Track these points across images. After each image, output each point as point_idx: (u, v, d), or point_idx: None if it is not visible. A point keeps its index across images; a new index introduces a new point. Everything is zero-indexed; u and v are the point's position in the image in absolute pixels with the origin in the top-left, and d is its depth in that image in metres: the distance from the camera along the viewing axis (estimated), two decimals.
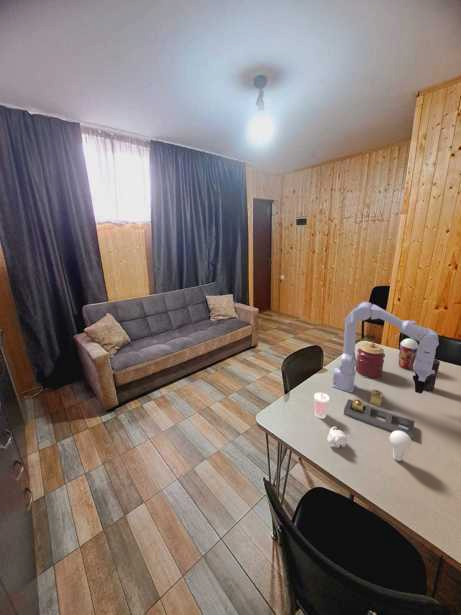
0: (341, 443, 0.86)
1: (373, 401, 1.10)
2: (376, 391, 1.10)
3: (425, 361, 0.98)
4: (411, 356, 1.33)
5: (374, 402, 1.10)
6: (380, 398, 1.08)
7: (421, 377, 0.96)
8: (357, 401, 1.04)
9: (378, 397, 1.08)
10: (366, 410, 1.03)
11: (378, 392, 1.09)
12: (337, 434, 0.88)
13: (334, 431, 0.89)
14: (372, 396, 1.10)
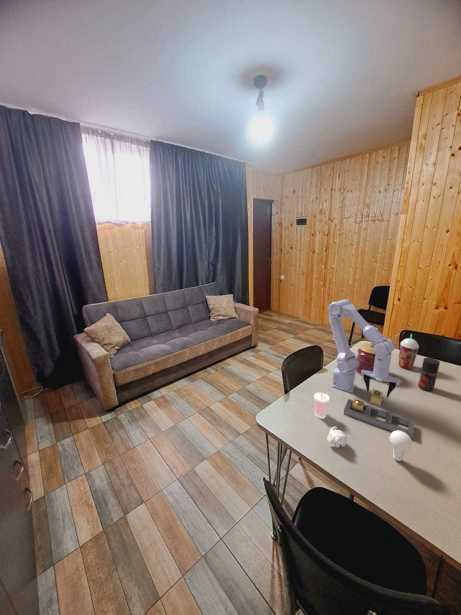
0: (341, 443, 0.86)
1: (373, 401, 1.10)
2: (376, 391, 1.10)
3: (378, 367, 1.04)
4: (411, 356, 1.33)
5: (374, 402, 1.10)
6: (380, 398, 1.08)
7: (361, 371, 1.12)
8: (357, 401, 1.04)
9: (378, 397, 1.08)
10: (366, 410, 1.03)
11: (378, 392, 1.09)
12: (337, 434, 0.88)
13: (334, 431, 0.89)
14: (372, 396, 1.10)
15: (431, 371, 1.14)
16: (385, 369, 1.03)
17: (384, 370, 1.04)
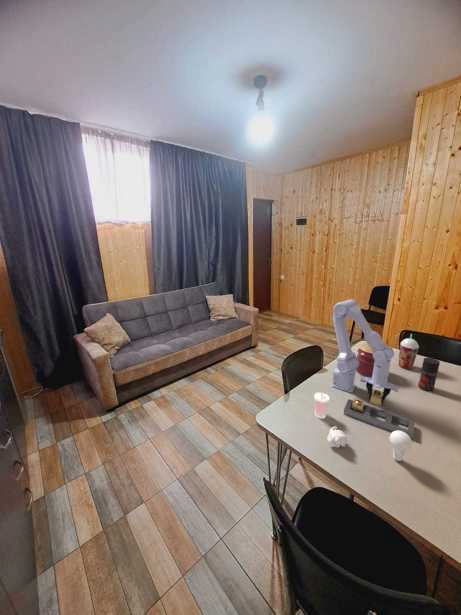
0: (341, 443, 0.86)
1: (373, 401, 1.10)
2: (376, 391, 1.10)
3: (377, 374, 1.05)
4: (411, 356, 1.33)
5: (374, 402, 1.10)
6: (380, 398, 1.08)
7: (361, 377, 1.13)
8: (357, 401, 1.04)
9: (378, 397, 1.08)
10: (366, 410, 1.03)
11: (378, 392, 1.09)
12: (337, 434, 0.88)
13: (334, 431, 0.89)
14: (372, 396, 1.10)
15: (431, 371, 1.14)
16: (384, 376, 1.04)
17: (383, 377, 1.05)
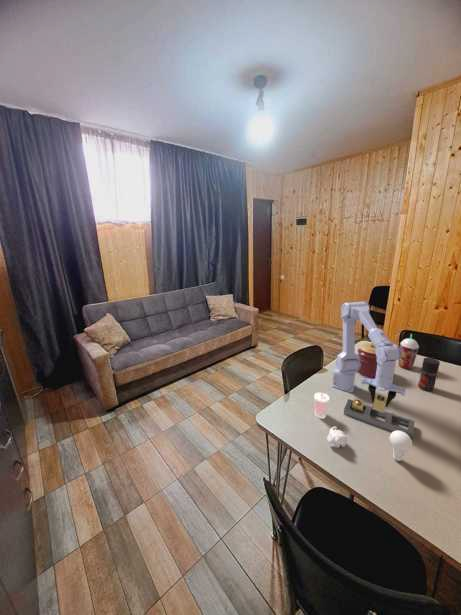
0: (341, 443, 0.86)
1: (376, 407, 0.98)
2: (379, 396, 0.99)
3: (378, 374, 0.94)
4: (411, 356, 1.33)
5: (377, 408, 0.98)
6: (384, 404, 0.96)
7: None
8: (357, 401, 1.04)
9: (382, 403, 0.97)
10: (366, 410, 1.03)
11: (382, 397, 0.98)
12: (337, 434, 0.88)
13: (334, 431, 0.89)
14: (375, 401, 0.98)
15: (431, 371, 1.14)
16: (389, 377, 0.92)
17: (387, 378, 0.92)
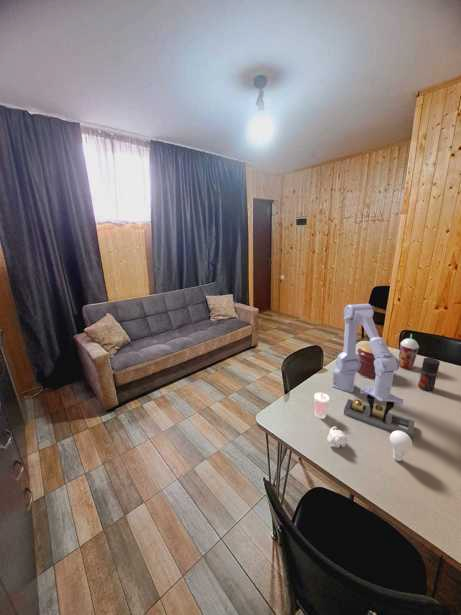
0: (341, 443, 0.86)
1: (374, 417, 1.00)
2: (378, 406, 1.00)
3: (376, 384, 0.96)
4: (411, 356, 1.33)
5: (376, 418, 1.00)
6: (382, 414, 0.98)
7: (361, 388, 1.02)
8: (357, 401, 1.04)
9: (380, 412, 0.98)
10: (366, 410, 1.03)
11: (380, 407, 0.99)
12: (337, 434, 0.88)
13: (334, 431, 0.89)
14: (373, 411, 1.00)
15: (431, 371, 1.14)
16: (387, 388, 0.94)
17: (386, 389, 0.94)
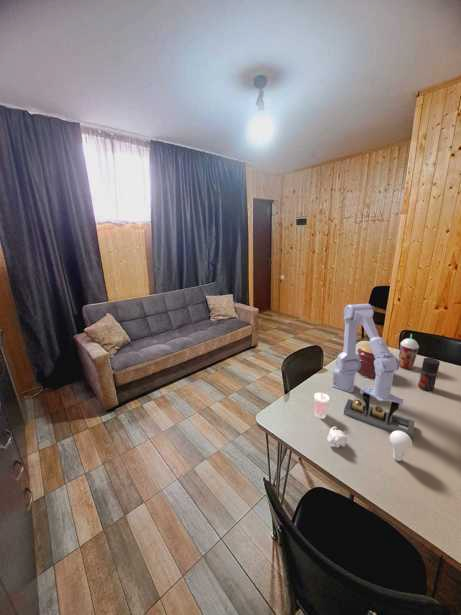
0: (341, 443, 0.86)
1: None
2: (377, 407, 1.00)
3: (376, 384, 0.96)
4: (411, 356, 1.33)
5: None
6: (382, 415, 0.98)
7: (361, 388, 1.02)
8: (357, 401, 1.04)
9: (380, 414, 0.98)
10: None
11: (380, 408, 0.99)
12: (337, 434, 0.88)
13: (334, 431, 0.89)
14: (373, 413, 1.00)
15: (431, 371, 1.14)
16: (387, 388, 0.94)
17: (386, 389, 0.94)
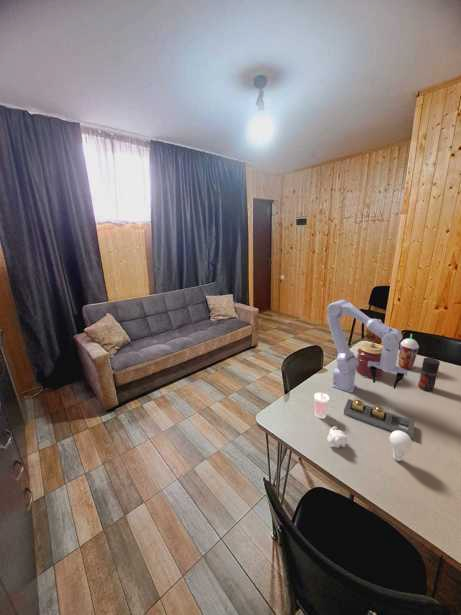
0: (341, 443, 0.86)
1: None
2: (377, 407, 1.00)
3: (386, 358, 1.02)
4: (411, 356, 1.33)
5: None
6: (382, 415, 0.98)
7: (368, 362, 1.10)
8: (357, 401, 1.04)
9: (380, 414, 0.98)
10: (366, 410, 1.03)
11: (380, 408, 0.99)
12: (337, 434, 0.88)
13: (334, 431, 0.89)
14: (373, 413, 1.00)
15: (431, 371, 1.14)
16: (392, 359, 1.02)
17: (391, 361, 1.02)
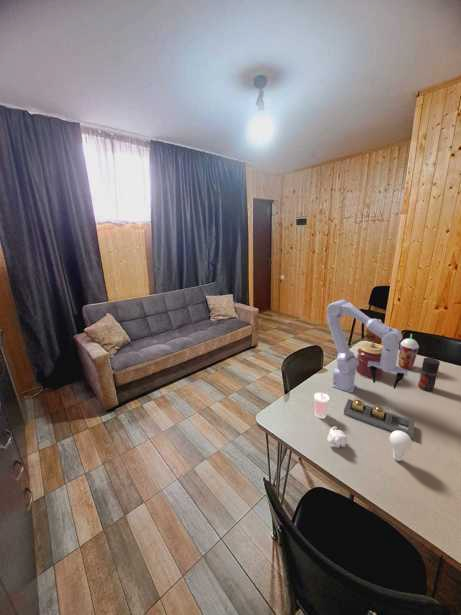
0: (341, 443, 0.86)
1: None
2: (377, 407, 1.00)
3: (386, 358, 1.02)
4: (411, 356, 1.33)
5: None
6: (382, 415, 0.98)
7: None
8: (357, 401, 1.04)
9: (380, 414, 0.98)
10: (366, 410, 1.03)
11: (380, 408, 0.99)
12: (337, 434, 0.88)
13: (334, 431, 0.89)
14: (373, 413, 1.00)
15: (431, 371, 1.14)
16: (393, 359, 1.02)
17: (392, 360, 1.02)
